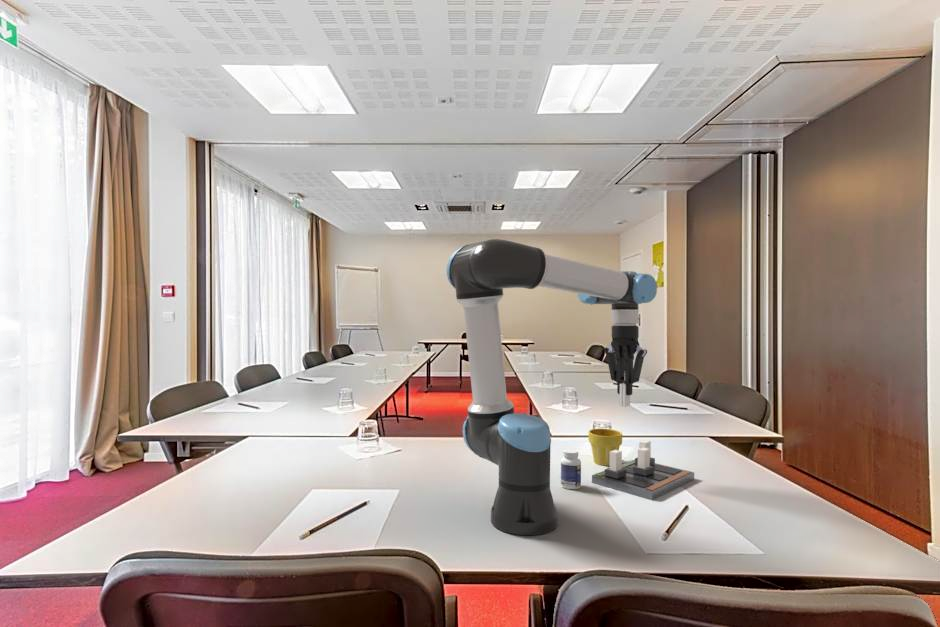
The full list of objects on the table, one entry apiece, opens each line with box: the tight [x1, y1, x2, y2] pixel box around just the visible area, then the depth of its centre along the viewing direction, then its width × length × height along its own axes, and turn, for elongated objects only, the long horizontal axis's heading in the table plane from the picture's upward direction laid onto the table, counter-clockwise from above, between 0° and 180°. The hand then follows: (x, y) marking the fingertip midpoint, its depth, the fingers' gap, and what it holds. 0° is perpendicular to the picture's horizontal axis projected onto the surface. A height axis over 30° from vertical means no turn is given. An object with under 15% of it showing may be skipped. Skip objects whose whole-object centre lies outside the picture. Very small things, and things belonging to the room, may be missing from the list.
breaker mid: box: [633, 448, 654, 476], centre depth 144 cm, size 4×4×7 cm
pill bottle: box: [560, 448, 582, 490], centre depth 139 cm, size 5×5×10 cm
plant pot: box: [588, 427, 623, 467], centre depth 161 cm, size 10×10×10 cm
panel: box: [591, 459, 695, 501], centre depth 144 cm, size 24×18×2 cm
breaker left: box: [604, 449, 626, 479], centre depth 141 cm, size 4×4×7 cm
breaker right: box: [634, 440, 656, 465], centre depth 152 cm, size 4×4×7 cm
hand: (624, 405), depth 148 cm, fingers closed
